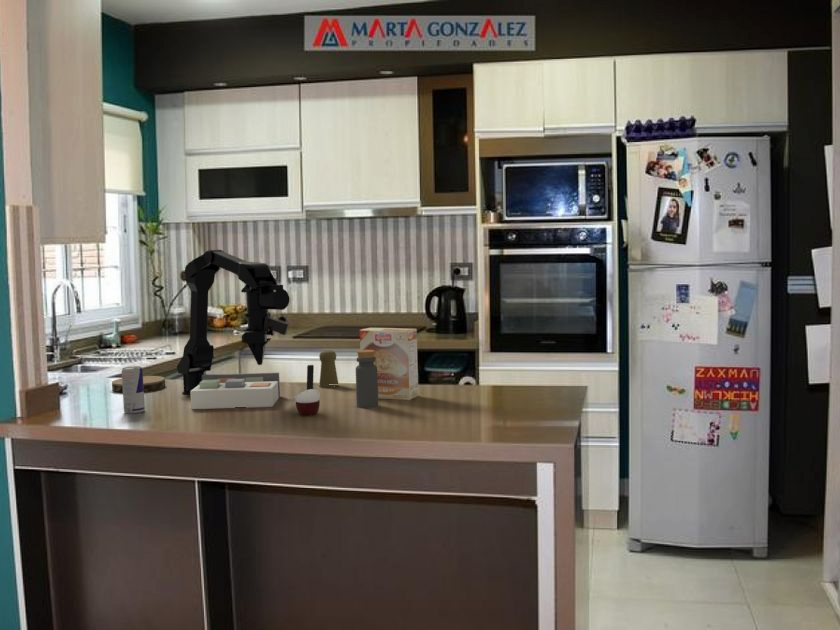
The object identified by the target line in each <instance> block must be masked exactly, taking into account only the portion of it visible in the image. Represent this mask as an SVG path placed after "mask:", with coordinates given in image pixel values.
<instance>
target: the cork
mask: <svg viewBox="0 0 840 630" xmlns="http://www.w3.org/2000/svg"><path fill="white" fill-rule="evenodd" d="M318 357H319V361H320V362H321V365H320V375H319V384H320V385H319V384H318V386H319V388H322V387H324V389H327V388H329V389H330V388H331V389H332V388H335V387H334V386H338V385H329V384H339V380H338V379H339V378H338V373H337V367H336V360H337V353H336V351H334V350H330V349H329V350H328V349H327V350H322V351H321V352H320V353H319V356H318ZM338 387H339V386H338Z"/></svg>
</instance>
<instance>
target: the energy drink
mask: <svg viewBox="0 0 840 630" xmlns="http://www.w3.org/2000/svg"><path fill="white" fill-rule="evenodd" d="M121 368H122V367H121ZM143 373H144V371H143V368H142V366H138V365H137V366H135V365H134V366H133V365H132V366H127V367H125V366H124V367H123V368H122V370H121V379H122V386H123V393H122V398H123V401H122V402H123V412H124V414H129V415H130V414H140V413H144V412H145V410H146V406H145V392H144V386H143V376H144V374H143Z"/></svg>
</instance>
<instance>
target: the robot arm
mask: <svg viewBox="0 0 840 630" xmlns="http://www.w3.org/2000/svg"><path fill="white" fill-rule="evenodd" d="M221 269H223V270H225V271H228V272H230V273H232V274H235V276H237V278H238V280H239V281H240V282H242V283H243V284H245V285H244V286H243V287H242V289H241V290H240V292H241V293H244V294H245V293H246V313H245V318H247V328H246V331H245V332H244V333H243V334H242V335H241V343H243V344H246V345H247V346H248V348H249V349H250V351H251V354H252V356H253V357H254V360H255V362H256V364H257V365H258V366H262V365H263V363H264V357H265V351H266V346H267V344H268V343H269V342H270V341H271V340H272V338H271V337H273V336H275V334H276V333H279V335H282V336H285V335H287V333H288V330H289V327H290V322H289V321H288V320H287V316H283V315H281V316H279V317H278V318H277V317H273V316H271V312H270V311H269V310H273V311H275V310H276V311H278V310H279V311H280V310H281V311H284V310H285V309H286V308H287V307H288V306H289V304H290V295H289V293H288V292H287V290H286V289H284V284H278V282H277V280H276V279H275V277H274V276H273V275H274V274H273V273H272V271H271V269H270V268H269V264H267V263H264V262H258V261H257V262H255V261H247V260H244V259H243V258H242V259H241V258H239V257H238V256H235V255H232V254H229V253H227V252H226V251H224V250H222V249H208V250H207V251H205V252H204V253H203V254H202V255H199V256H198V257H197V256H196V258H194V259H192V260H191V261H189V262H188V263H187V264H186V265H185V267H184V276H185V277H184V278H185V283H186V285H187V287H188V289H189V290H190V309H189V311H190V312H189V313H190V315H189V317H190V318H189V339H188V340H187V342H186V344H185V345H184V347H183V352H182V354H183V355H182V357H181V358H180V360H179V362H178V364H177V366H176V369H177V373H178V374H181V375H182V379H183V391H182V395H189V394H190V391H191V390H192V389H194V388H195V387H196V386H198V385H199V384H200V382H201V381H202V375H207V371H209V372H210V371H211V369H212V366H213V365H212V363H213V359H214V358H215V357H214V350H215V347H214V345H213V344H210V342H209V340H208V313H209V311H208V309H209V292H210V289H211V288H212V286H213V285H214V283H215V277H216V274H217V273H218V272H219V271H220V270H221ZM275 332H276V333H275ZM268 336H271V337H268ZM190 395H191V394H190Z"/></svg>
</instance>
